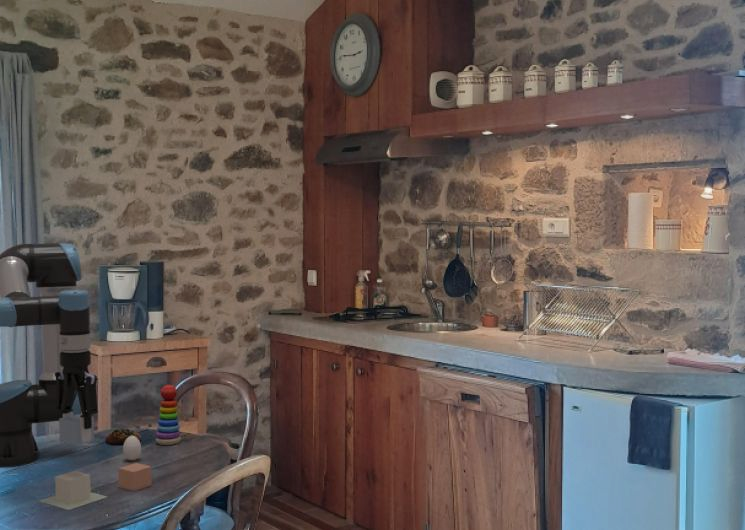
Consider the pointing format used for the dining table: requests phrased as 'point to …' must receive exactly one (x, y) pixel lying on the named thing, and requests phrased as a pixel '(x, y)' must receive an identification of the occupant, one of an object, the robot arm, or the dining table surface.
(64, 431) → the block
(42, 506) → the dining table surface
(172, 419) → the stacking toy
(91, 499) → the plate
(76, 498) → the block
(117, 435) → the bread roll
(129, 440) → the egg
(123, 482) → the block
